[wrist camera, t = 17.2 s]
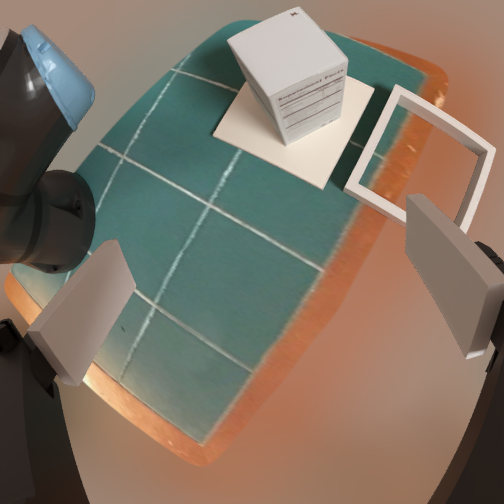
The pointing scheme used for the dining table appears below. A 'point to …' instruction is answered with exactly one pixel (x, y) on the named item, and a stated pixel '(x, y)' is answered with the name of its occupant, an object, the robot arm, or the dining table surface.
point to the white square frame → (447, 126)
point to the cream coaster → (303, 150)
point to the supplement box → (292, 72)
